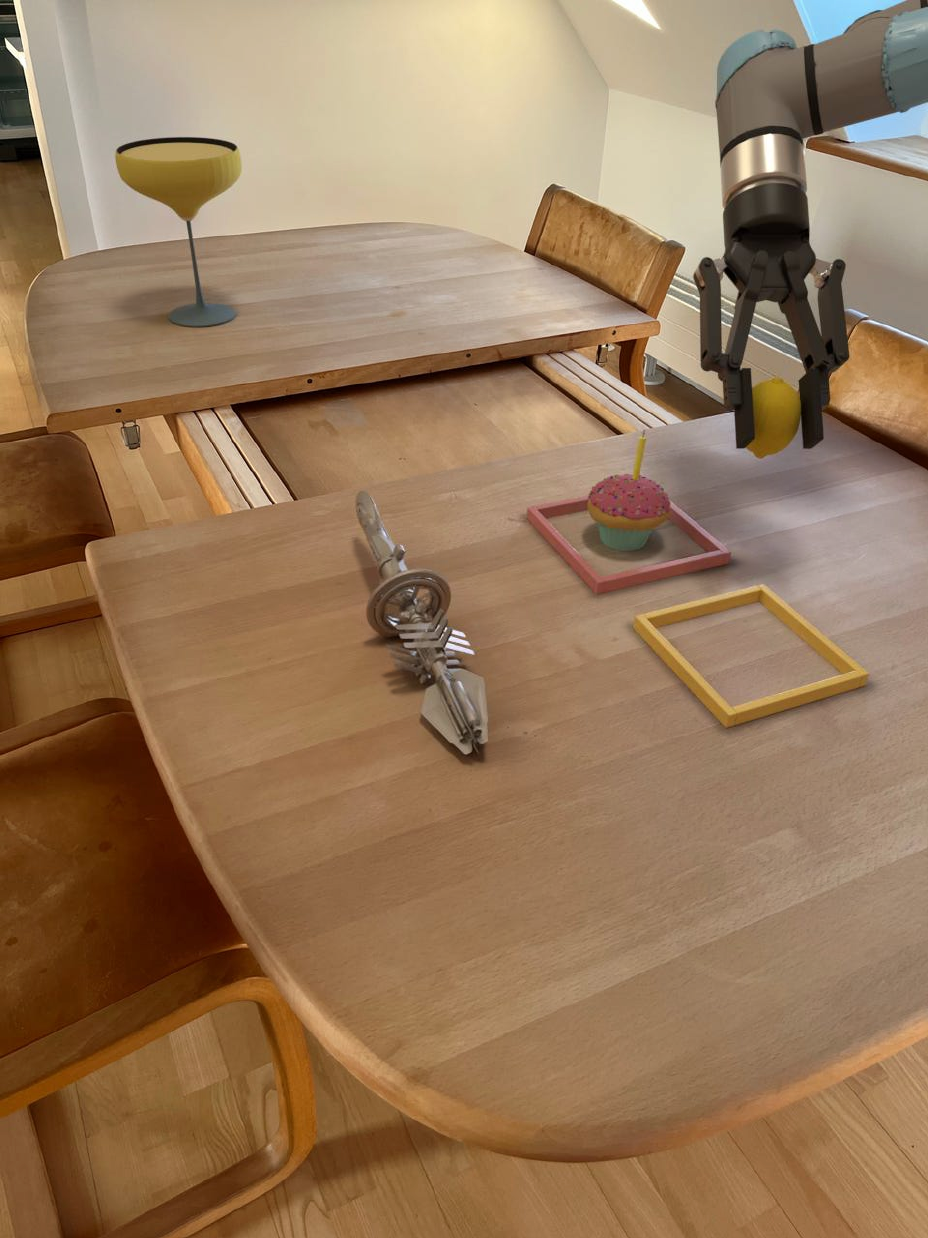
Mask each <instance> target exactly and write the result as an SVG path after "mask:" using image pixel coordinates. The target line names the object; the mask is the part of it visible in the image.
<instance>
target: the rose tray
mask: <svg viewBox="0 0 928 1238" xmlns="http://www.w3.org/2000/svg"><path fill="white" fill-rule="evenodd" d="M588 496H589V495H585V496H579V497H574V498H569V499H563V500H558V501H553V502H548V503H544V504H538V505H533V506H528V507H527V508H526V520H528V522H529V523H530V524H531V525H532V526H533V527H534V528H535V530H536V531H538V533H539V534H540V535H541V536H542V537H543V538H544V539H545V540H546V541H547V542H548V544H550V546H551V547H552V548H553V549H554V550H555V551H556V552H557V553H558V555H560V556H561V557H562V559H563V560H564V561H565V562H566V563H567V565H569V566H570V567H571V569H572V570H574V572H575V573H576V574H577V575H578V576H579V577H580V578H581V580H583V582H585V584H586V585H587V586H588V587H589V588H590V589H591V591H593V592H594V593H595V594H596V595H600V594H604V593H608V592H609V593H610V592H613V591H617V590H621V589H625V588H629V587H635V586H638V585H642V584H646V583H647V584H648V583H651V582H654V581H660V580H664V579H669V578H672V577H676V576H680V575H684V574H689V573H693V572H698V571H702V570H706V569H710V568H715V567H718V566H722V565H727V564H729V563H730V559H731V555H732V551H731V550H729V549H728V548H727V547H726V546H725V545H723V544H722V543H721V542H720V541H718V540H717V538H715V537H714V536H713V535H712V534H710V533H709V532H708V531H707V530H706V529H704V528H703V527H702V526H700V525H699V524H698V523H697V522H696V521H695V520H694V519H692V518H691V517H690V516H689V515H688V514H687V513H685V512H684V511H683V510H682V509H680V508H679V507H678V506H677V505H676V504H675V503H673V502H672V501H671V500H670V499H669V501H670V507H671V509H670V515H669V518H668V520H670V521H671V522H673V524H675V525H676V526H677V527H678V528H679V529H681V530H682V531H683V532H684V533H685V534H686V535H687V536H689V538H691V539H692V540H693V541H694V542H695V543H697V544H698V545H699V546H700V547H701V548H703V549H704V550H705V553H701V554H696V555H692V556H688V557H685V558H679V559H675V560H671V561H666V562H662V563H657V564H653V565H648V566H645V567H640V568H636V569H631V570H627V571H622V572H618V573H613V574H609V575H606V576H605V575H604V576H601V575H600V574H599V573H598V572H597V571H596V570H595V569H594V568H593V567H592V566H591V565H590V564H589V563H588V561H587V560H585V558H584V557H583V556H581V554H579V552H578V551H577V550H576V549H575V548H574V547H573V546H572V545H571V544H570V543H569V541H567V540H566V539H565V537H563V535H562V534H561V533H560V532H559V531H558V530H557V529H556V528H555V527H554V526H553V525H552V524H551V523H550V522H549V521H548V520H547V519H549V518H554V517H558V516H559V517H560V516H564V515H570V514H574V513H579V512H583V511H588V508H587V503H588V500H589V498H588Z"/></svg>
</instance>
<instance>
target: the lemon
mask: <svg viewBox="0 0 928 1238" xmlns="http://www.w3.org/2000/svg"><path fill="white" fill-rule="evenodd" d="M752 396H753V413H754V430H755V439H754V440H753V441H752V442H751V443H750V444H749V445H748V446H747V447H746V448H745V449H746V450H748V451H749V452H750V453H753V455H754V457H755V458H756V459H760V460H761V459H764V458H765V457H767V456H771V455H776V454H778V453H780V452H782V451H783V450H785V449H786V448H787V447H788V446H789V445H790V444H791V443H792V441H793V440H794V439H795V437H796V435H797V433H798V430H799V428H800V424H801V401H800V395H799V392H797V390H796V389H795V387H794V386H793V385H792V384H790V383H789V382H787V381H785V380H784V379H783V377H781V376H774V377H772V378H769V379H765V380H762V381H760V382H758V383H756V384H755V385H752Z"/></svg>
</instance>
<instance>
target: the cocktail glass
mask: <svg viewBox="0 0 928 1238" xmlns="http://www.w3.org/2000/svg"><path fill="white" fill-rule="evenodd" d="M114 154H115V155H114V158H115V164H116V169H117V172H118V175H119V177H120V179H121V180H122V182H123V183H125V185H127V186H128V187H129V188H131V189H132V190H133V191H135V192H136V193H139V194H141V195H143V196H145V197H146V198H149V199H151V200H154V201H156V202H158V203H161V204H163V205H165V206H167V207H169V208H170V209H171V210H172V211H173V212H174V213H175V214H176V215H177V216H178V217H179V219H181V220H182V221H184V222H185V223H186V229H187V235H188V241H189V248H190V255H191V261H192V269H193V277H194V285H195V303H189V304H185V305H182V306H179V307H176V308H174V309H172V310H171V311H170V312H169V313H168V320H169V321H170V322H171V323H172V324H174V325H177V326H181V327H187V328H206V327H213V326H219V325H222V324H225V323H228V322H230V321H232V320H234V318H235V317H236V315H237V311H236V309H235V308H234V307H232V306H230V305H227V304H223V303H217V302H206V301H205V298H204V294H203V291H202V287H201V281H200V273H199V268H198V263H197V257H196V250H195V249H196V248H195V244H194V237H193V229H192V222H191V221H193V220H194V219H195V218H196V217H197V216H198V214H199V211H200V209H201V208H202V207H203V206H204V205H205V204H207V203H208V202H210V201H211V200H213V199H215V198H216V197H218V196H220V195H221V194H223V193H225V192H226V191H228V190H229V189H230V188H231V187H232V186H233V185H235V183H236V182H237V181H238V179H239V178H240V177H241V173H242V168H243V167H242V158H241V152H240V149H239V148H238V145H236V143H234V142H231V141H228V140H224V139H218V138H210V137H200V136H199V137H197V136H170V137H169V136H168V137H157V138H155V137H154V138H149V139H148V138H147V139H141V140H135V141H131V142H127V143H124V144H122V145H119V146H118V147H117V148H116V150H115V153H114Z"/></svg>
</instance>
